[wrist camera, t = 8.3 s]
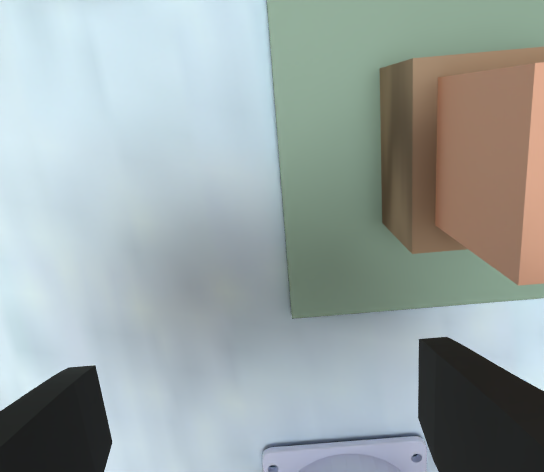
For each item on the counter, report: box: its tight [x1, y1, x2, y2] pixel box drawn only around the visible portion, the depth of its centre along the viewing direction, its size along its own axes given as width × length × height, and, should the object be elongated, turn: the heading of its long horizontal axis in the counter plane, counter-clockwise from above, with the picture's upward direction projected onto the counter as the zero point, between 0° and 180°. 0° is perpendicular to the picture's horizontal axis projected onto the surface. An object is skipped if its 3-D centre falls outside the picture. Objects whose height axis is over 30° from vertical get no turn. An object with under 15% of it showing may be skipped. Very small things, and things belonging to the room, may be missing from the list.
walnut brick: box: [380, 47, 544, 254], centre depth 16 cm, size 6×6×4 cm
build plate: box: [267, 0, 544, 319], centre depth 18 cm, size 14×14×1 cm
